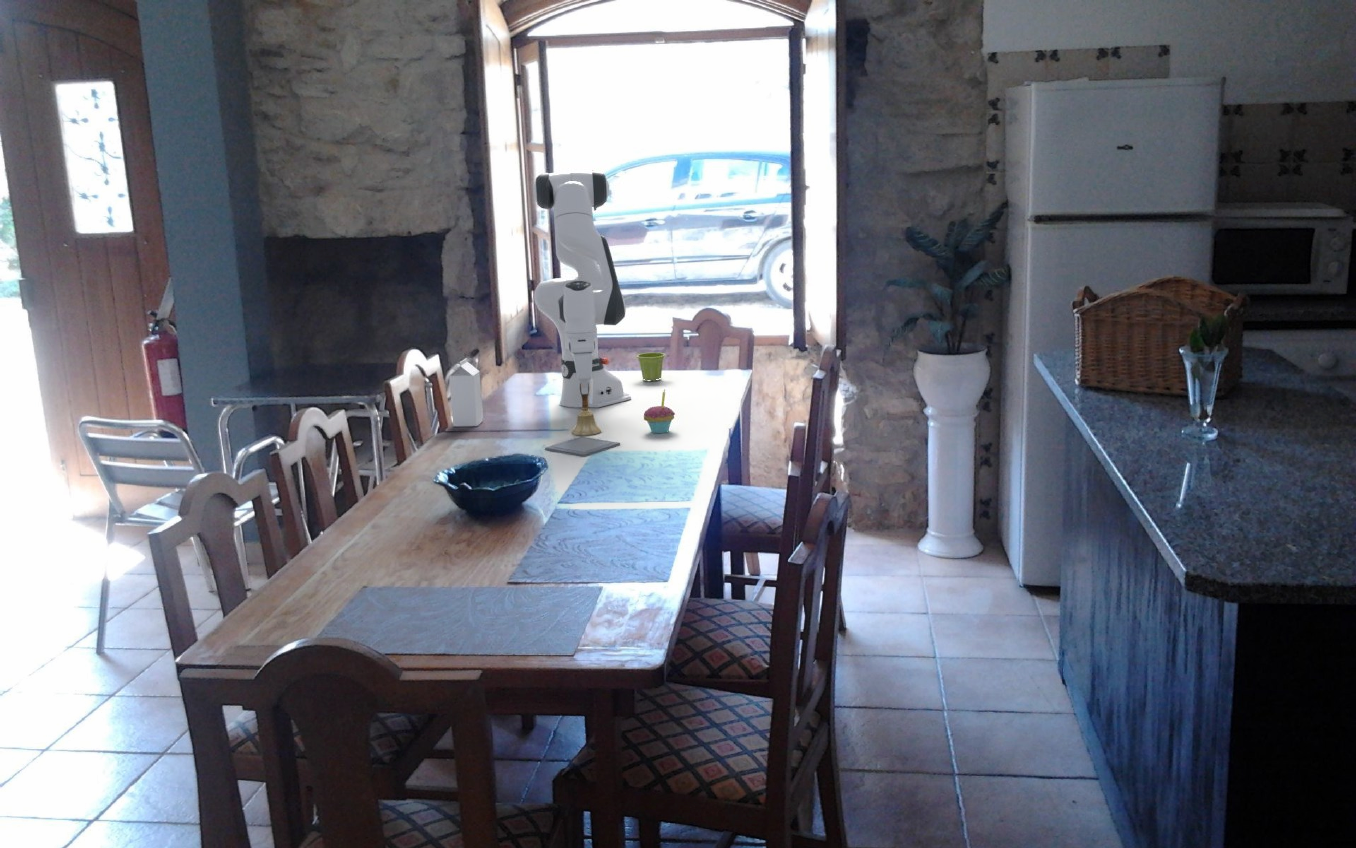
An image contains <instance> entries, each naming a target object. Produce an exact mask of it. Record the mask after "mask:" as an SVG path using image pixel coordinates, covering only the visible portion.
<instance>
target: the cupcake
mask: <svg viewBox="0 0 1356 848" xmlns="http://www.w3.org/2000/svg"><path fill="white" fill-rule="evenodd" d="M665 391H666V389H664V390H663V391H662V396H661V397H662V398H661V405H657V406H652V407H648V409H647V410H645V411H644V413H643V421H645V422H647V423H648V426H649V429H650V431H651V433H653V434H665V432H666V433H668V432H669V429H670V427H671V423H672V420H674V419H675V415H676V413H675V412H674V411H673V410H672V409H671V408H670V407H668V406H666V405H665V396H666V392H665ZM667 431H668V432H667Z"/></svg>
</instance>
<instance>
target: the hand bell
mask: <svg viewBox="0 0 1356 848" xmlns="http://www.w3.org/2000/svg"><path fill="white" fill-rule="evenodd" d="M580 393H581V383H580ZM588 394H589V383H588ZM588 394H582V393H581V396H582V407H581V411H580V412H578V414H577V419H576V425H575V426H574V428H573V429H572V431H571V435H574V436H582V437H585V436H593V435H598V434H600V433H602V428H600V427H599V426H598V424H597V423H596V420H595V416H594V415H595V413H594V412H592V411H590V410H589V407H588Z"/></svg>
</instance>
